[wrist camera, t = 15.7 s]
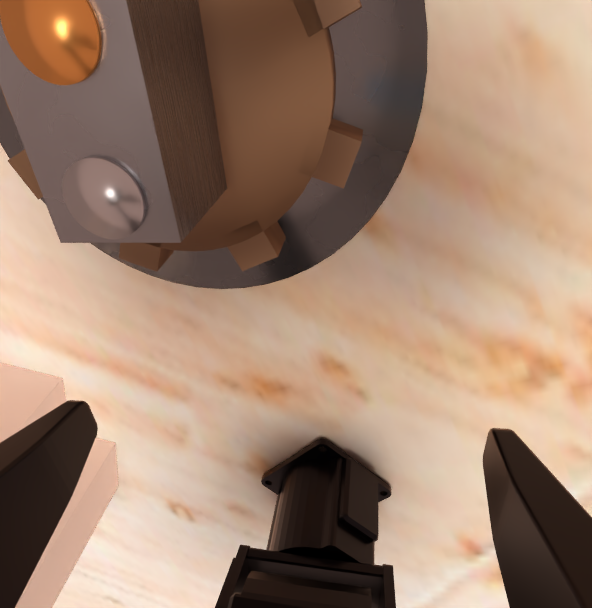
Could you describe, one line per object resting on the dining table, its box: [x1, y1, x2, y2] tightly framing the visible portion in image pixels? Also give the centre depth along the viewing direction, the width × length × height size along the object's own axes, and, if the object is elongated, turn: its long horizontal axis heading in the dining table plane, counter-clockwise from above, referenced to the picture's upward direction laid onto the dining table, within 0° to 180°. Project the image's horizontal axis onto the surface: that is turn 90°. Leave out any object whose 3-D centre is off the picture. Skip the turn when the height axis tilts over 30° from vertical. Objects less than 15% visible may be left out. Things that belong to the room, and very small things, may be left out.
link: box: [0, 0, 227, 243], centre depth 14 cm, size 7×4×5 cm, turn 4°
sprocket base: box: [0, 0, 427, 289], centre depth 18 cm, size 19×19×1 cm
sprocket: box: [0, 0, 363, 272], centre depth 15 cm, size 15×15×5 cm
